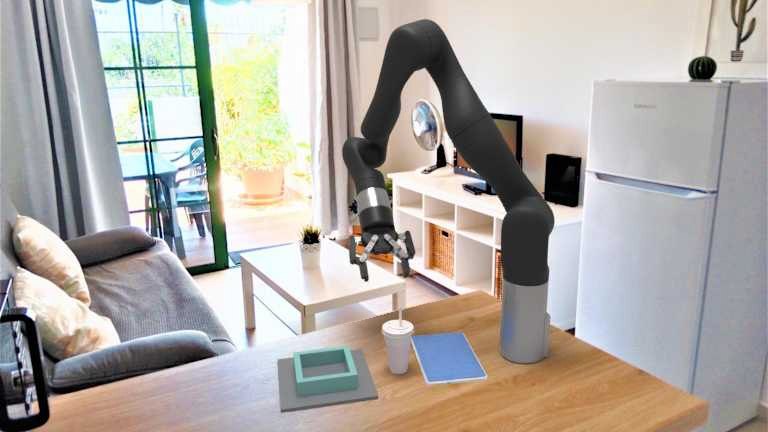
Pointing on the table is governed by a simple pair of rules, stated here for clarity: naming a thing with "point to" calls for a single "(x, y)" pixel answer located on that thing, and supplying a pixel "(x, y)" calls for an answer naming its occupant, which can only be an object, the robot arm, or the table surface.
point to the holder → (324, 378)
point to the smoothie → (398, 343)
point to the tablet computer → (447, 359)
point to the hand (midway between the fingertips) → (386, 278)
